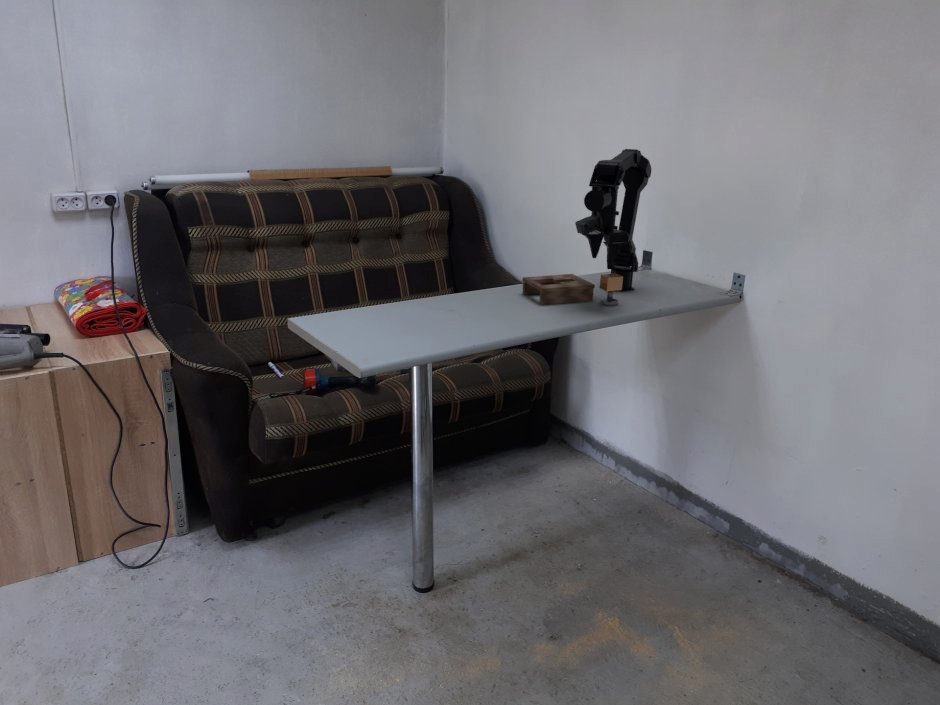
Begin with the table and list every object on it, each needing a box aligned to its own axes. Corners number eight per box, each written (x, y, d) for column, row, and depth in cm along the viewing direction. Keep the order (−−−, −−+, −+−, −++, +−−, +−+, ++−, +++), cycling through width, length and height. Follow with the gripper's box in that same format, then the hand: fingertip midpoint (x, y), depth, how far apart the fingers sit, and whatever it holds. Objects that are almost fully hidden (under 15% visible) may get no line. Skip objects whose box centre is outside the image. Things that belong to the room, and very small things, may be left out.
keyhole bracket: (571, 289, 225) (572, 273, 223) (593, 301, 212) (594, 284, 211) (521, 293, 219) (522, 277, 217) (541, 305, 207) (542, 288, 205)
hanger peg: (612, 300, 213) (614, 272, 210) (621, 305, 208) (624, 276, 206) (597, 302, 211) (599, 274, 208) (606, 306, 207) (608, 278, 204)
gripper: (565, 203, 208) (562, 256, 213) (596, 213, 191) (591, 270, 196) (600, 202, 211) (596, 254, 216) (632, 211, 194) (627, 268, 200)
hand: (601, 261), depth 207 cm, fingers open, 9 cm apart
